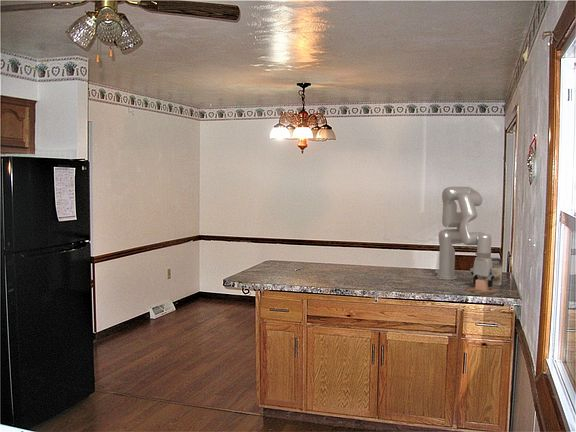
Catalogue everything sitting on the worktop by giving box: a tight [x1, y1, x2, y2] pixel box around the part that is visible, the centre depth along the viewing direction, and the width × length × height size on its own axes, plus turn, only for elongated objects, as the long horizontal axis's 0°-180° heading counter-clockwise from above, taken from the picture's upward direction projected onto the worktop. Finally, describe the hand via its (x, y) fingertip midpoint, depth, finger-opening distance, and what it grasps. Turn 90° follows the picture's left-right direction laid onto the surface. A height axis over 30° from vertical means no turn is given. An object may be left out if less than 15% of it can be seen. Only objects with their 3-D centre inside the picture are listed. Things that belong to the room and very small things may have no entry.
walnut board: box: [464, 286, 502, 296], centre depth 319 cm, size 14×14×1 cm
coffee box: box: [482, 257, 503, 286], centre depth 338 cm, size 9×6×16 cm
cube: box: [474, 278, 491, 291], centre depth 319 cm, size 6×6×6 cm
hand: (482, 285), depth 318 cm, fingers open, 9 cm apart
